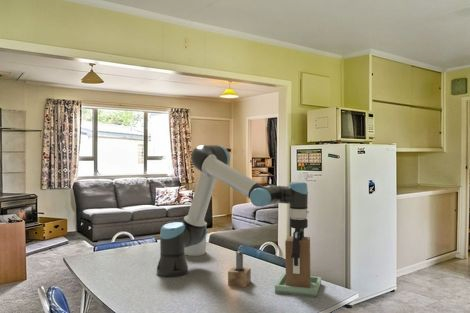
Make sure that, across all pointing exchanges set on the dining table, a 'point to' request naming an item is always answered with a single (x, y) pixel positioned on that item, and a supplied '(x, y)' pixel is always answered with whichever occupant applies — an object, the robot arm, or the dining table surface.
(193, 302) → the dining table surface
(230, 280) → the wooden socket block
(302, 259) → the wooden block
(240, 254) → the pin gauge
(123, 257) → the dining table surface
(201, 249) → the utensil holder
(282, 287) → the tray
